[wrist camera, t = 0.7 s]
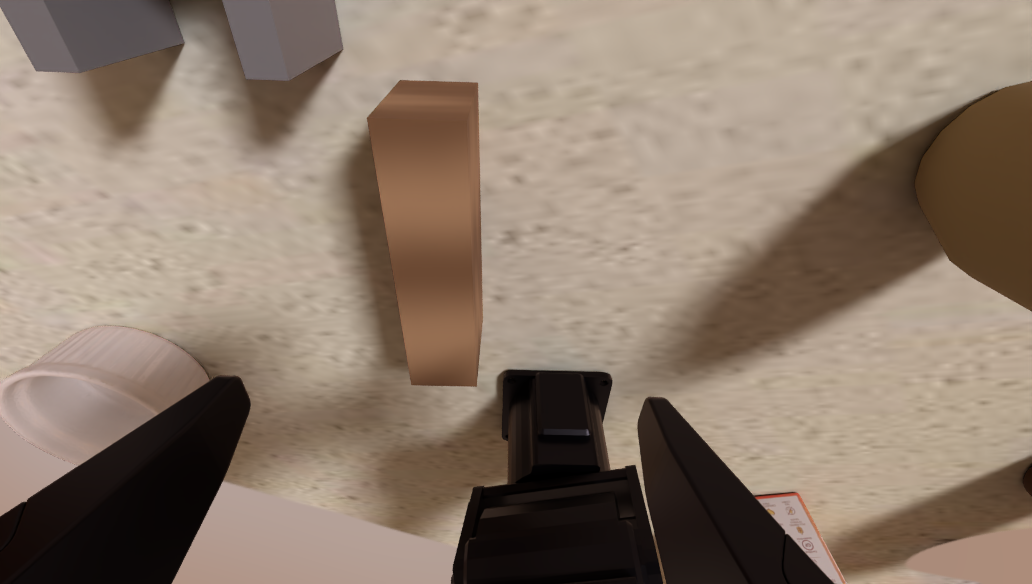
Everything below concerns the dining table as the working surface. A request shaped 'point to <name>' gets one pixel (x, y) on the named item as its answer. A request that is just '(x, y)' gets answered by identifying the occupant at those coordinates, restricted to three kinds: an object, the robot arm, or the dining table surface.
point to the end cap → (172, 33)
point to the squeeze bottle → (985, 191)
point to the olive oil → (1028, 481)
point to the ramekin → (96, 390)
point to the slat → (433, 223)
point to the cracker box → (802, 530)
